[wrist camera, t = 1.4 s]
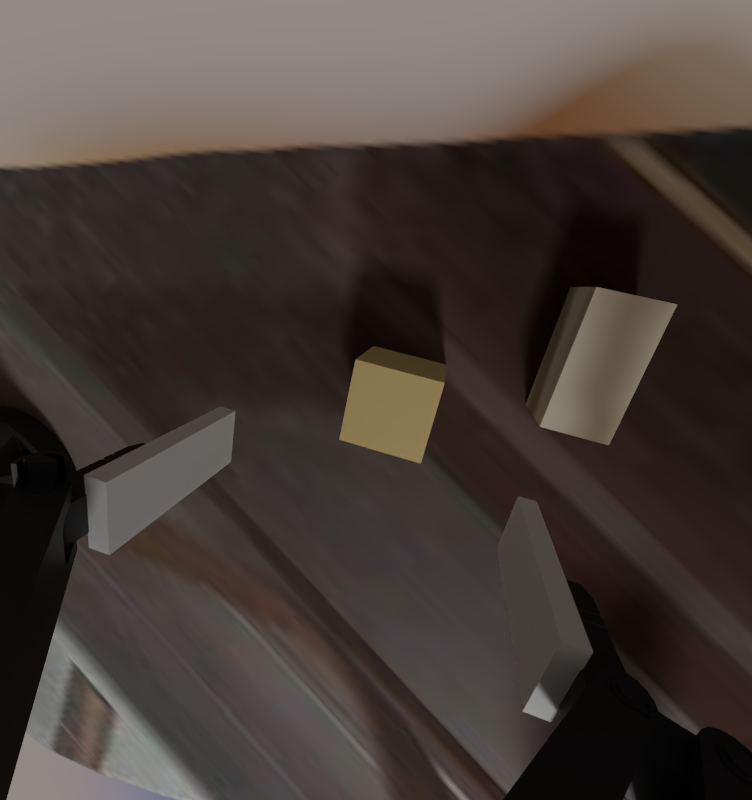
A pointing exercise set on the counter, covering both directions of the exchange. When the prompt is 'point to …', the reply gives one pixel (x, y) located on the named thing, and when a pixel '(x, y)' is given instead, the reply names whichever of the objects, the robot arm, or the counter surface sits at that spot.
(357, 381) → the ochre cube
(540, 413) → the birch plinth
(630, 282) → the counter surface
